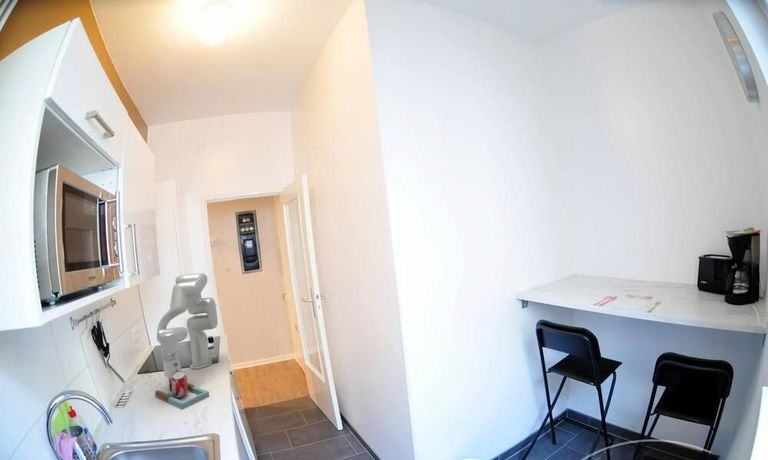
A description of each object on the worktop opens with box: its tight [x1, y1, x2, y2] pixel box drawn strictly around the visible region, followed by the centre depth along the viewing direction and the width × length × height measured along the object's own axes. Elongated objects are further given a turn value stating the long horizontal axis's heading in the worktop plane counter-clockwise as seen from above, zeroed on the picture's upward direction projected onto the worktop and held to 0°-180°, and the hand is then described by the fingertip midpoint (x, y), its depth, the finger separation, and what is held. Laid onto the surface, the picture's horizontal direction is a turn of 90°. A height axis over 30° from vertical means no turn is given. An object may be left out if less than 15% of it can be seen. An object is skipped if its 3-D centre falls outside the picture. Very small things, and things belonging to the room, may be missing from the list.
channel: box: [154, 382, 196, 404], centre depth 184 cm, size 13×14×3 cm
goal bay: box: [168, 386, 210, 410], centre depth 176 cm, size 13×14×2 cm
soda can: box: [171, 370, 188, 399], centre depth 179 cm, size 7×7×12 cm
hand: (174, 390), depth 183 cm, fingers closed
